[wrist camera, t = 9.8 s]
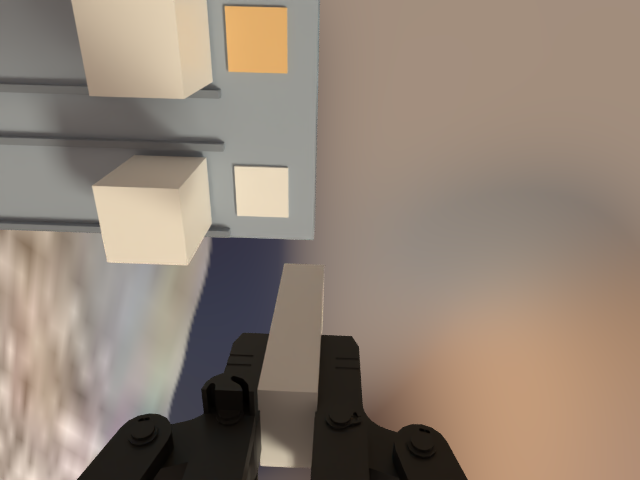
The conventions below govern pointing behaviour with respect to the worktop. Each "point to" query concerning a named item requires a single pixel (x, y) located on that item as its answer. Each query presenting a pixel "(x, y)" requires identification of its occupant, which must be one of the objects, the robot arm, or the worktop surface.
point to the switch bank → (164, 120)
